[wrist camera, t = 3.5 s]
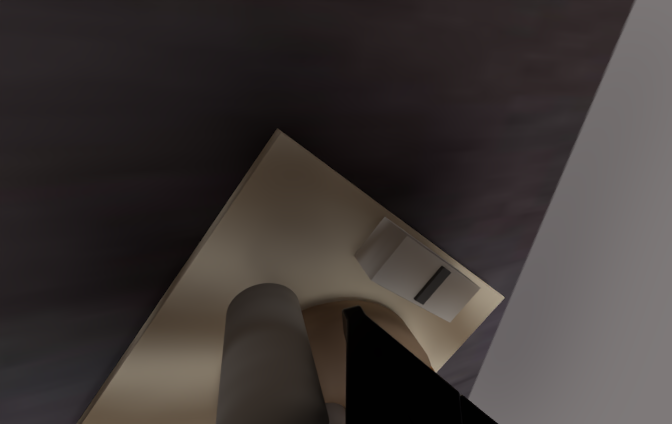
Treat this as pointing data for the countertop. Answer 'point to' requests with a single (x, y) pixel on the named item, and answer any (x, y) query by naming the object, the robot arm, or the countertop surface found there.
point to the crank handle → (291, 357)
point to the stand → (286, 284)
